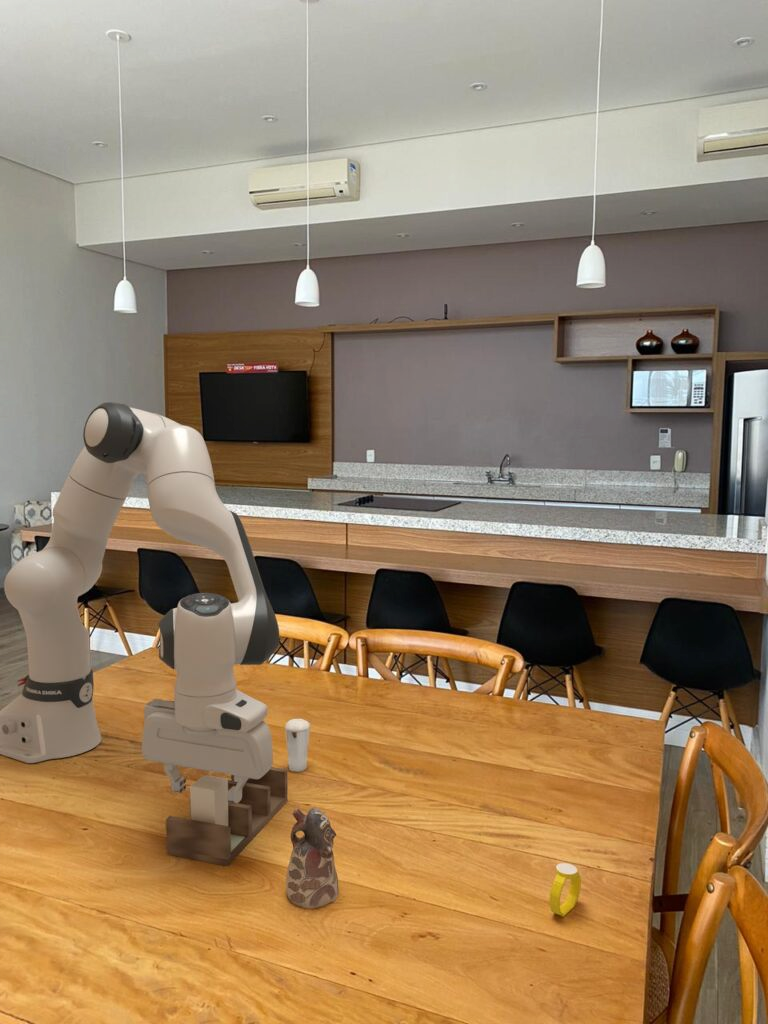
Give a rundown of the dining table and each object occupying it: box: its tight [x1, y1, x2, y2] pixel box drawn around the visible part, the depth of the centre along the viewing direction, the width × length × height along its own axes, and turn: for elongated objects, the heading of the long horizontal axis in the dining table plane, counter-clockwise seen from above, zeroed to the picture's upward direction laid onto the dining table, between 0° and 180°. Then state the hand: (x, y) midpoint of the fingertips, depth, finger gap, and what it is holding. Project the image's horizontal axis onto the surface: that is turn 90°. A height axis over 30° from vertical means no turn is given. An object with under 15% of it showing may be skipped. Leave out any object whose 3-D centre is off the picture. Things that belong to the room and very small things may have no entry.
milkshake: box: [284, 716, 314, 773], centre depth 146 cm, size 4×5×10 cm
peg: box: [189, 774, 229, 826], centre depth 120 cm, size 4×4×9 cm
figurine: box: [285, 807, 340, 910], centre depth 108 cm, size 7×7×12 cm
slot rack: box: [165, 766, 289, 867], centre depth 126 cm, size 10×21×6 cm, turn 163°
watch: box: [548, 862, 582, 918], centre depth 105 cm, size 6×3×6 cm, turn 139°
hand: (206, 795), depth 119 cm, fingers open, 8 cm apart
